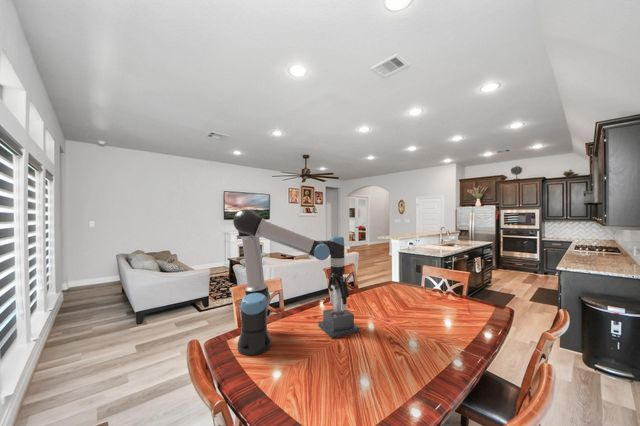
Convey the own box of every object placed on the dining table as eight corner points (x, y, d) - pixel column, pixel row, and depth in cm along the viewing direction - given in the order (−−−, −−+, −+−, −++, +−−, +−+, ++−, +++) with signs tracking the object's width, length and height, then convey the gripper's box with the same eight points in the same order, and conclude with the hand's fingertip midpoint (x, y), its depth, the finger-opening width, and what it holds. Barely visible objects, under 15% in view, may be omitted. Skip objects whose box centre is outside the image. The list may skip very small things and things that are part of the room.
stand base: (331, 338, 131) (331, 318, 131) (318, 326, 145) (318, 308, 145) (359, 332, 137) (359, 313, 137) (344, 321, 152) (343, 304, 152)
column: (335, 332, 138) (334, 286, 138) (331, 328, 142) (331, 284, 142) (345, 329, 140) (344, 285, 141) (341, 326, 144) (340, 283, 145)
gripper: (355, 269, 132) (356, 312, 132) (333, 261, 154) (333, 298, 154) (342, 270, 129) (343, 315, 129) (321, 262, 151) (322, 300, 151)
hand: (338, 306), depth 141 cm, fingers open, 12 cm apart
